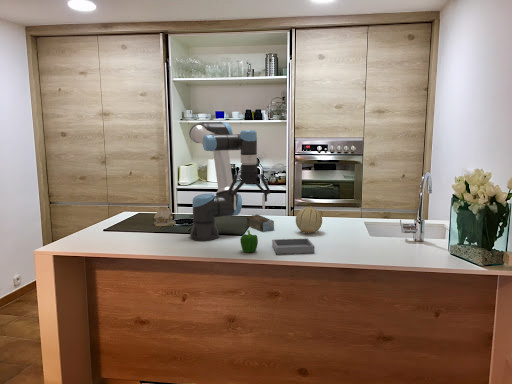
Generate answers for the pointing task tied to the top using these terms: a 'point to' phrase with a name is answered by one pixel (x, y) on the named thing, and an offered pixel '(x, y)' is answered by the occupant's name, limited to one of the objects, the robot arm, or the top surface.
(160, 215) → the ceramic model
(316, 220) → the cantaloupe
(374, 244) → the top surface
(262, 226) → the beverage carton
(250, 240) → the bell pepper
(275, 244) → the tray
